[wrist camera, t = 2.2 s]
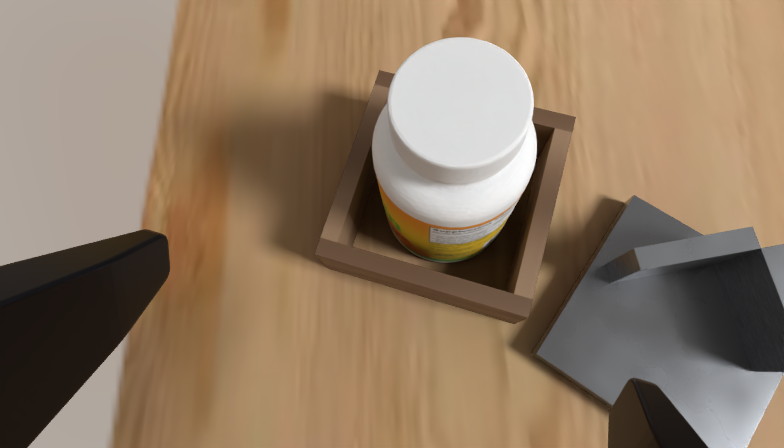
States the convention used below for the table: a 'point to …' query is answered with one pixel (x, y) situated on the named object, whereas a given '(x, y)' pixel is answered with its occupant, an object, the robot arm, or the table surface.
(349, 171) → the block
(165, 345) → the table surface
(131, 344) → the table surface
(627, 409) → the robot arm
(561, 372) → the v-block
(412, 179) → the supplement bottle
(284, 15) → the table surface
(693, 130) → the table surface
